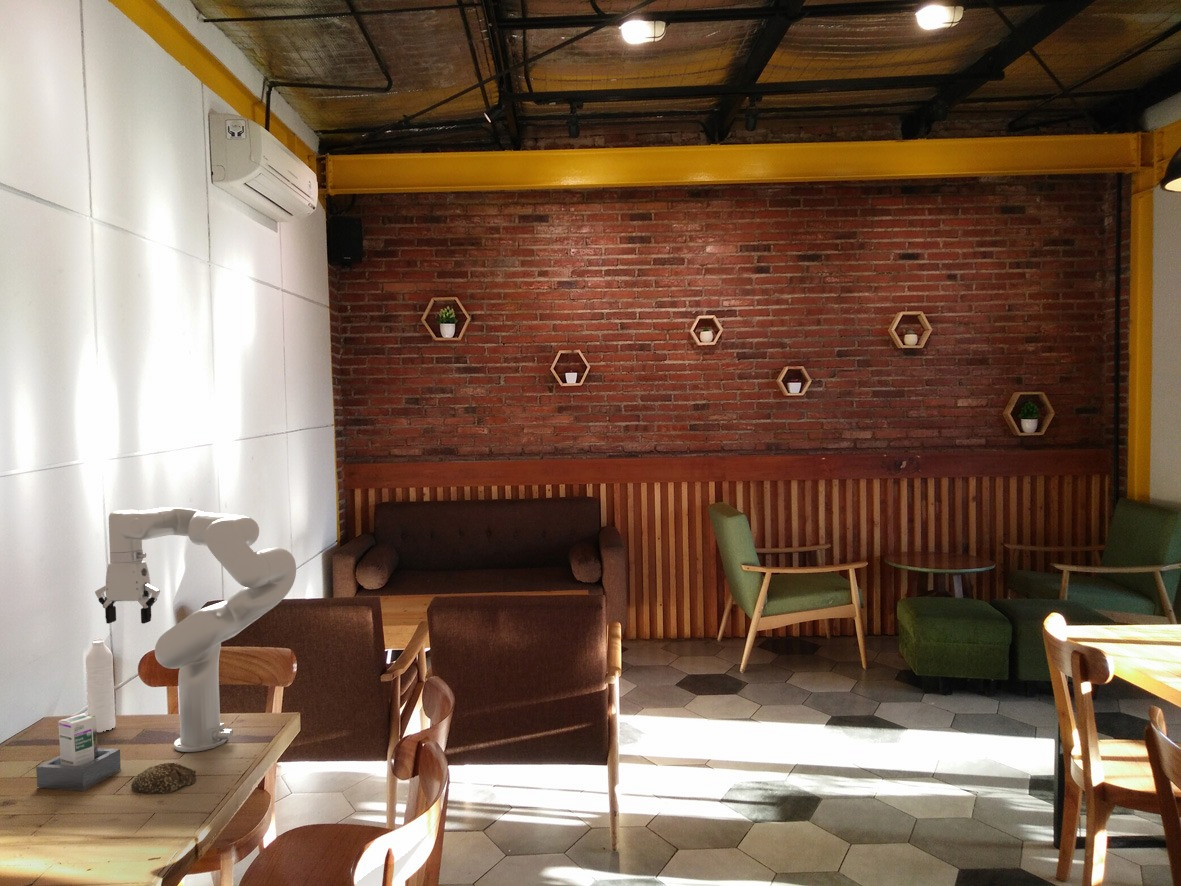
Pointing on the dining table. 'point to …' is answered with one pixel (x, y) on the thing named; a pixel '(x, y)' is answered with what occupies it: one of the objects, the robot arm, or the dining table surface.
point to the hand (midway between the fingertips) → (128, 622)
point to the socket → (78, 771)
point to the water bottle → (100, 685)
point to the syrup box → (78, 740)
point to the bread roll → (163, 778)
